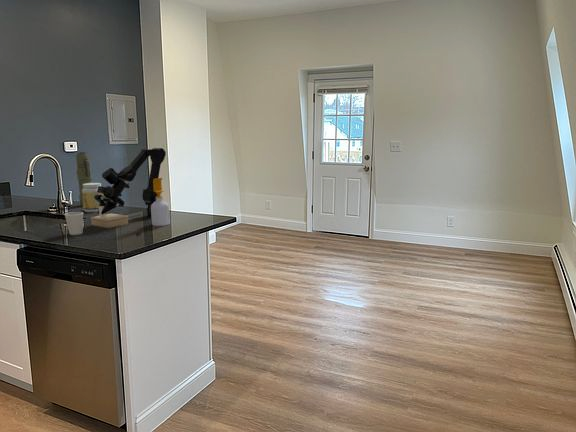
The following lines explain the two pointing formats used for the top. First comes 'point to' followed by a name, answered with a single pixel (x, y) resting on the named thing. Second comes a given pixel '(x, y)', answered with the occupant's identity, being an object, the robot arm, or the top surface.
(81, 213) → the dixie cup
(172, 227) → the top surface
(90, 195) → the supplement tub
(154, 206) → the soap bottle
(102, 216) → the carton lid
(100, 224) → the carton
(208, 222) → the top surface
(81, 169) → the green cactus
